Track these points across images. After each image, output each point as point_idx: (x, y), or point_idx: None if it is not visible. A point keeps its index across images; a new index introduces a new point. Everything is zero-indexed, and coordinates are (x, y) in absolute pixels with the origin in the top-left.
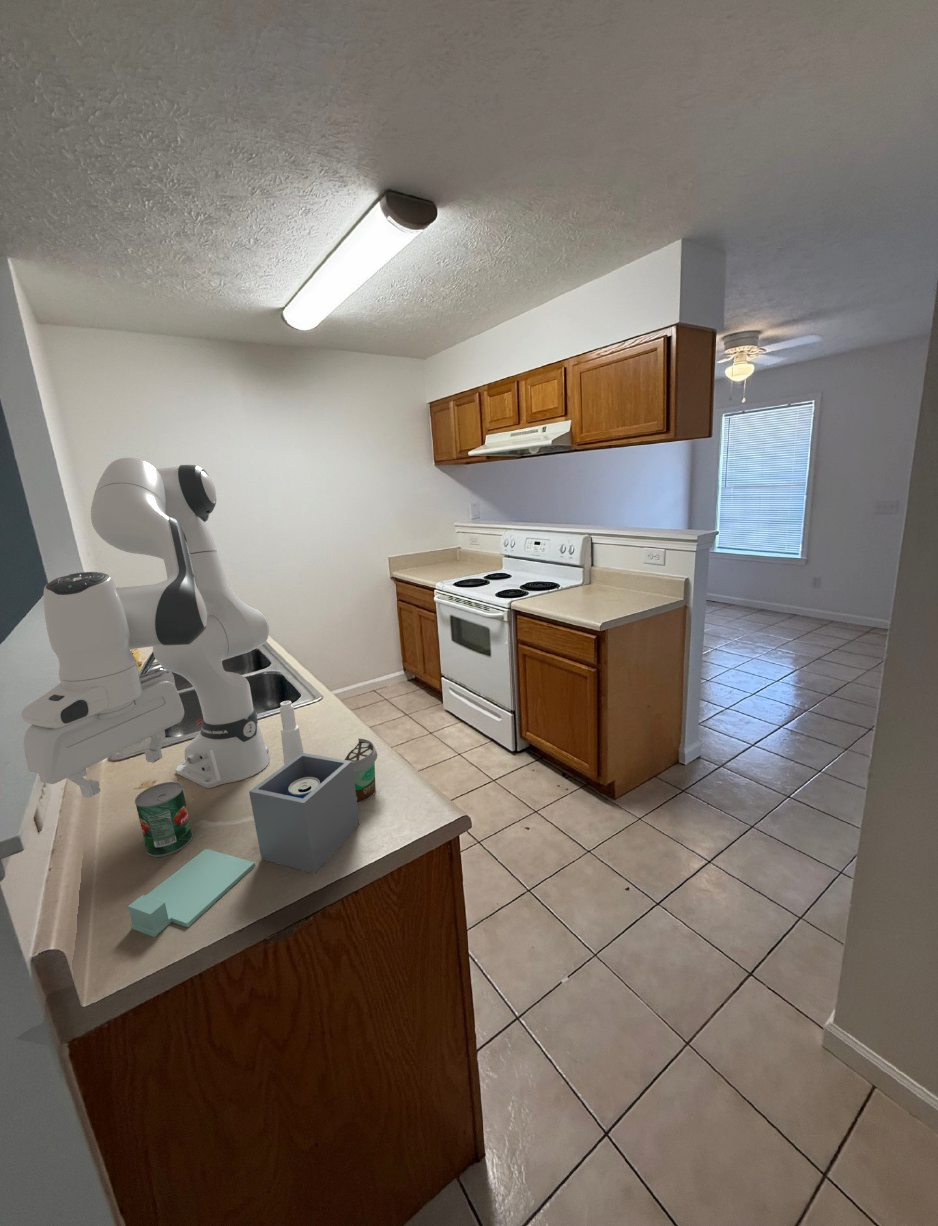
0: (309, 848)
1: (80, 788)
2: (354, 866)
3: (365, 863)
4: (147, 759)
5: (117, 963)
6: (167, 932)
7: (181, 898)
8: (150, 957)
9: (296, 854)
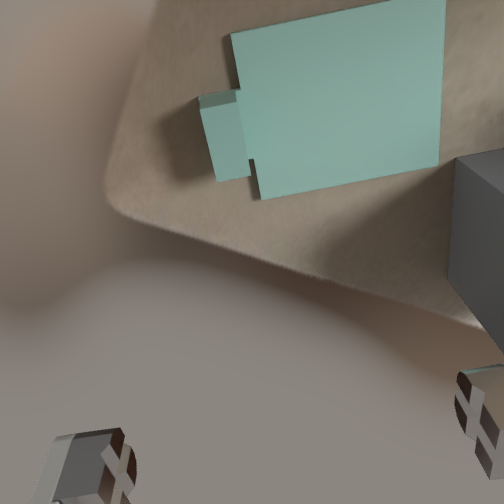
0: (473, 311)
1: (40, 477)
2: None
3: None
4: (465, 387)
5: (147, 163)
6: None
7: (295, 123)
8: (189, 201)
9: (465, 268)
